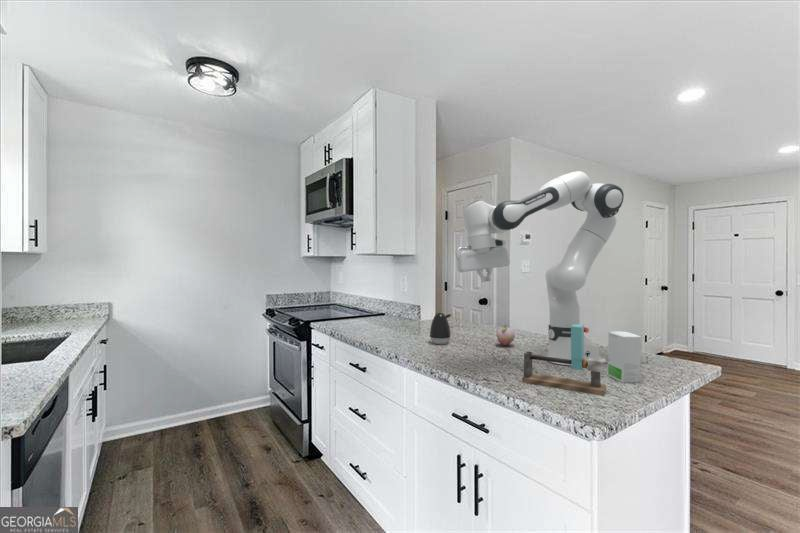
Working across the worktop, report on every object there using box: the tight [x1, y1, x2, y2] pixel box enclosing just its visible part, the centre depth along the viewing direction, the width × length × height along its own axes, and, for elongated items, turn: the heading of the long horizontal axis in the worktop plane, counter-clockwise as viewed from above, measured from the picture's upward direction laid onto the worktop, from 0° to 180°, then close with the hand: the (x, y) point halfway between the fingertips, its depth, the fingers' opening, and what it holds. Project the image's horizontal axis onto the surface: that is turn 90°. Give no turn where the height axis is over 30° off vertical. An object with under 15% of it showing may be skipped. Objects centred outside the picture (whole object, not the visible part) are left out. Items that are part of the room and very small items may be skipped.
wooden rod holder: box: [521, 351, 607, 396], centre depth 123 cm, size 24×7×10 cm, turn 57°
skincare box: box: [607, 330, 642, 384], centre depth 129 cm, size 8×7×16 cm
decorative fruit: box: [496, 325, 516, 347], centre depth 180 cm, size 9×8×10 cm
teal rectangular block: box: [570, 324, 585, 371], centre depth 121 cm, size 3×5×14 cm, turn 147°
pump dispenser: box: [429, 312, 452, 345], centre depth 187 cm, size 10×10×15 cm
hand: (486, 281), depth 141 cm, fingers closed
